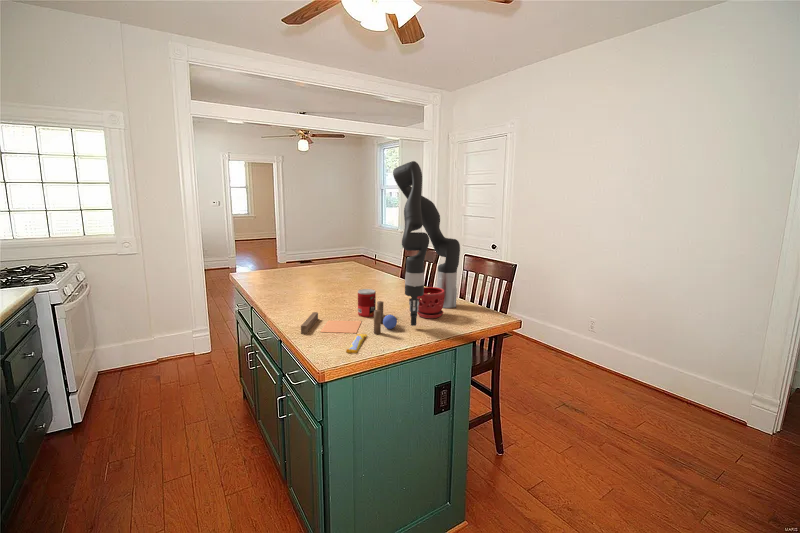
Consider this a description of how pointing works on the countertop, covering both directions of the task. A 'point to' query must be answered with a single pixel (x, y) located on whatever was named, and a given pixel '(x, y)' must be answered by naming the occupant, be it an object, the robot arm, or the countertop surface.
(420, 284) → the robot arm
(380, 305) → the post
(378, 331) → the post
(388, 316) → the ball
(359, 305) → the canned food
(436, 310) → the plant pot
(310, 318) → the strip
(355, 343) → the candy bar
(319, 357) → the countertop surface
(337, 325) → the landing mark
